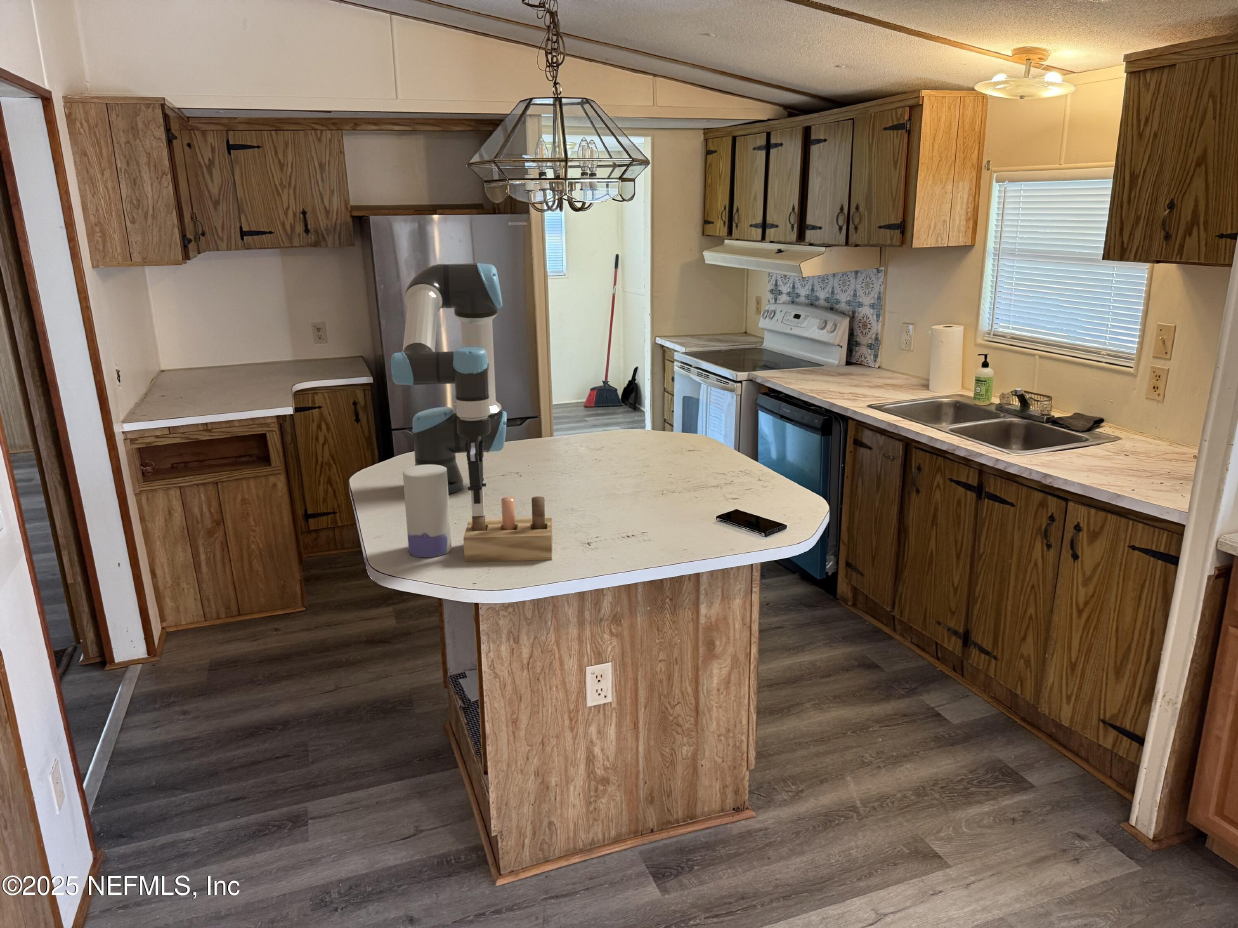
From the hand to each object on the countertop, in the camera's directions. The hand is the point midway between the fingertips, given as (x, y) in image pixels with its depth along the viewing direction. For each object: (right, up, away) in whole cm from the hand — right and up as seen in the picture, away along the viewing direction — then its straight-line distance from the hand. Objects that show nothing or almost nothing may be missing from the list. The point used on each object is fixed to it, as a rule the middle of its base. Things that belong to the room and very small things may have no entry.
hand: (478, 515), depth 202 cm
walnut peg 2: (+14, -4, +2) cm, 15 cm away
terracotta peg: (+7, -4, +2) cm, 8 cm away
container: (-12, -9, +4) cm, 15 cm away
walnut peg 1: (0, -8, +2) cm, 8 cm away
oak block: (+7, -9, +3) cm, 12 cm away
